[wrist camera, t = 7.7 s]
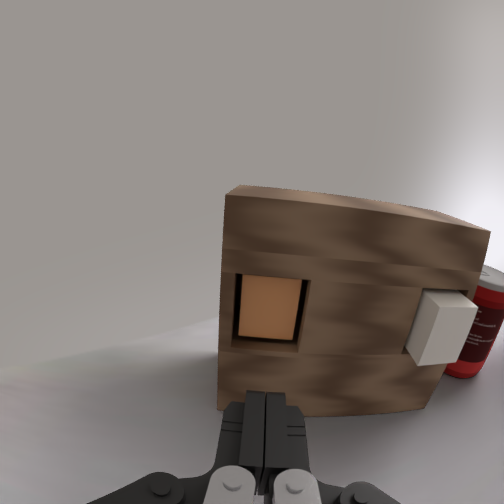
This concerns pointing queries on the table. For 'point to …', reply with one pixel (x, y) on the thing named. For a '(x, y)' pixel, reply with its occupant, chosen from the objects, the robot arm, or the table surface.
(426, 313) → the white key
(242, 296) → the orange key
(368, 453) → the table surface
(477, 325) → the canned food
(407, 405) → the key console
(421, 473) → the table surface
